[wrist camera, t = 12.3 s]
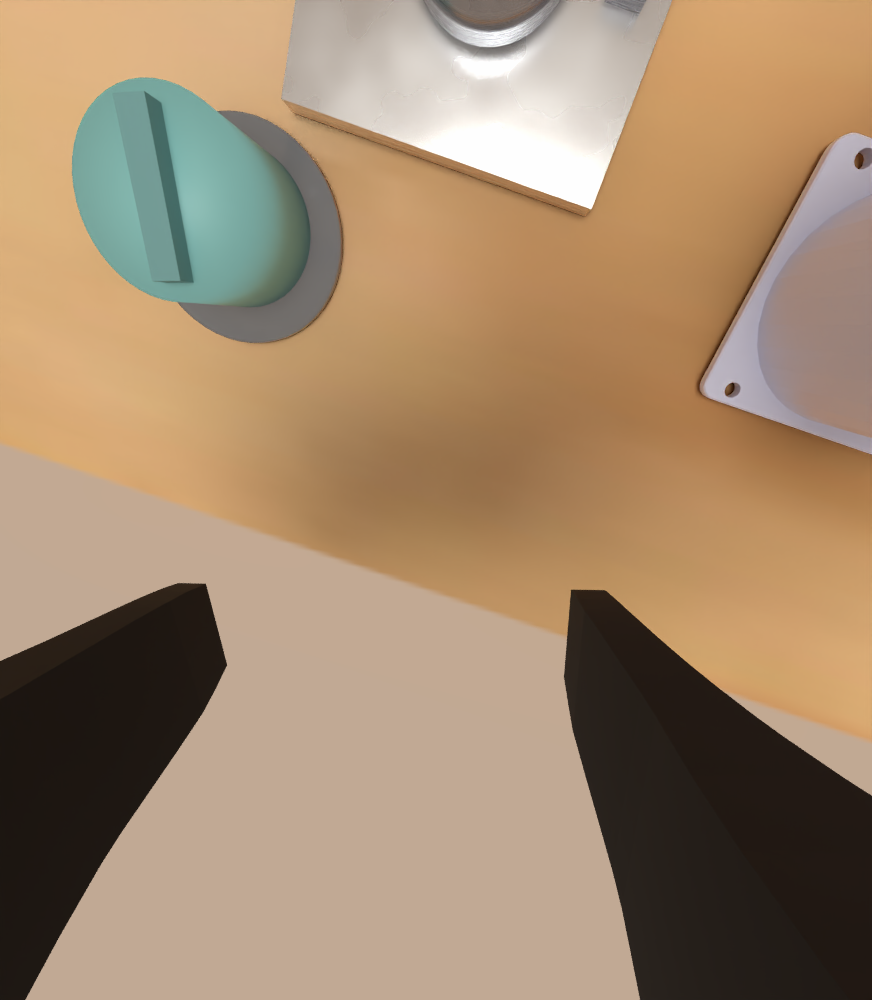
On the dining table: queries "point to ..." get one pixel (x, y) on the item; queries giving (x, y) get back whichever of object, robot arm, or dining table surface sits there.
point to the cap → (186, 199)
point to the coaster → (322, 258)
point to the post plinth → (479, 83)
